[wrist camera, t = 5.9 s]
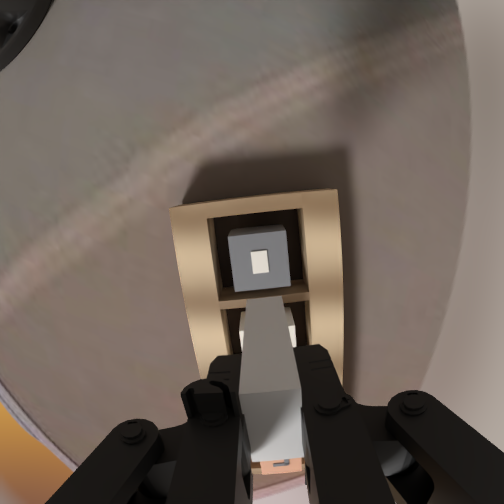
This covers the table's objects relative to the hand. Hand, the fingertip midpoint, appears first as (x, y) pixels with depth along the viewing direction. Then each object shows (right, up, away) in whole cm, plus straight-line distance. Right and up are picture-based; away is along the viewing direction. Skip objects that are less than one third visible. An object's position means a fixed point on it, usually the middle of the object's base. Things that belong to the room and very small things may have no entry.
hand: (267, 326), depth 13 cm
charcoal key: (0, +3, +9) cm, 10 cm away
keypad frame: (+1, -5, +12) cm, 13 cm away
